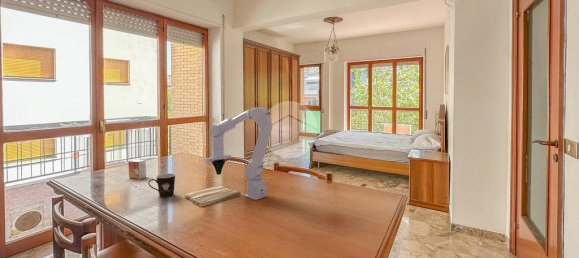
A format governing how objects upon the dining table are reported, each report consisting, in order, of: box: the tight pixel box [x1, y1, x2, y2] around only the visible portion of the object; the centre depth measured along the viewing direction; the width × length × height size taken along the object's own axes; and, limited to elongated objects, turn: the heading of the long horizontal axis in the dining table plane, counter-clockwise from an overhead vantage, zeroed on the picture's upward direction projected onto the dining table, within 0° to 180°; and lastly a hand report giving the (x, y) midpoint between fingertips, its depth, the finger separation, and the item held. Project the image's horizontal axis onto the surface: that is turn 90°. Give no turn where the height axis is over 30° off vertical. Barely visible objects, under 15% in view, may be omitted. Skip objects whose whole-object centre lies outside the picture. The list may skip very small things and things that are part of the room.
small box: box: [128, 159, 147, 180], centre depth 179 cm, size 8×6×10 cm
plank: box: [184, 185, 230, 202], centre depth 146 cm, size 8×20×2 cm, turn 137°
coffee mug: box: [147, 173, 176, 198], centre depth 145 cm, size 12×9×10 cm
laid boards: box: [192, 188, 242, 208], centre depth 140 cm, size 7×22×2 cm, turn 137°
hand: (218, 174), depth 150 cm, fingers closed
